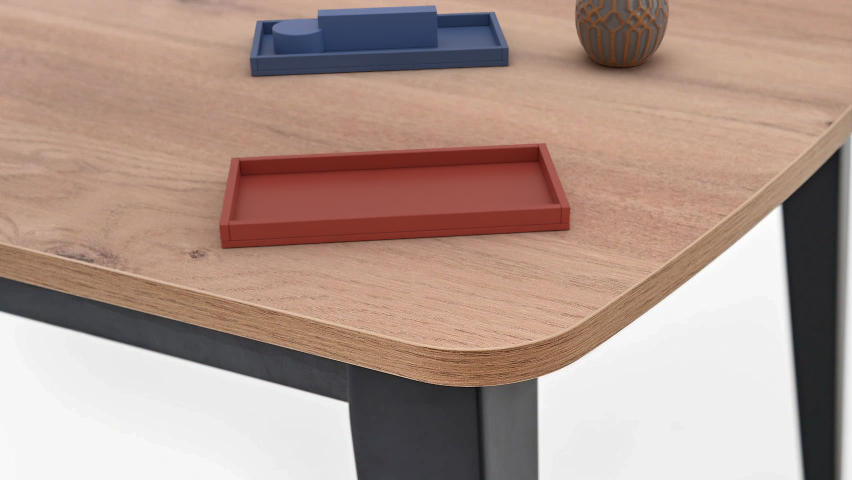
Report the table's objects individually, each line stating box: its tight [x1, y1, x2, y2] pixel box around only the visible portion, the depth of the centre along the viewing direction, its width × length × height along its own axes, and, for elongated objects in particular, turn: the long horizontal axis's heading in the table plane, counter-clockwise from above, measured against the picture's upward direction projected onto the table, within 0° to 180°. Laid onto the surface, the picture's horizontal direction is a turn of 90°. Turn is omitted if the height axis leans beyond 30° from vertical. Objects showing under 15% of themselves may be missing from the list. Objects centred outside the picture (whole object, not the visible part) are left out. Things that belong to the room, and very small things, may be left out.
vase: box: [574, 0, 670, 68], centre depth 90 cm, size 7×7×9 cm
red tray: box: [218, 142, 571, 249], centre depth 70 cm, size 19×9×1 cm, turn 96°
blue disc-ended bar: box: [272, 4, 438, 55], centre depth 93 cm, size 12×4×3 cm, turn 96°
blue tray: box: [249, 11, 510, 77], centre depth 93 cm, size 19×9×1 cm, turn 96°
